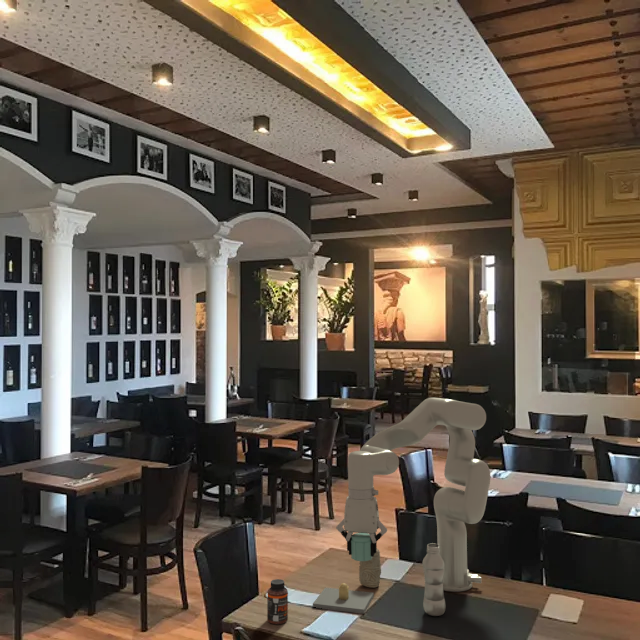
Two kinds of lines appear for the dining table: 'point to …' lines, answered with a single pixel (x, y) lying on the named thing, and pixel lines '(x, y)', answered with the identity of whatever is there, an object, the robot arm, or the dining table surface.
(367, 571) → the carving
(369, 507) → the robot arm
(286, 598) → the supplement bottle
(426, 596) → the plastic bottle
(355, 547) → the cap
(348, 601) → the grey square board
